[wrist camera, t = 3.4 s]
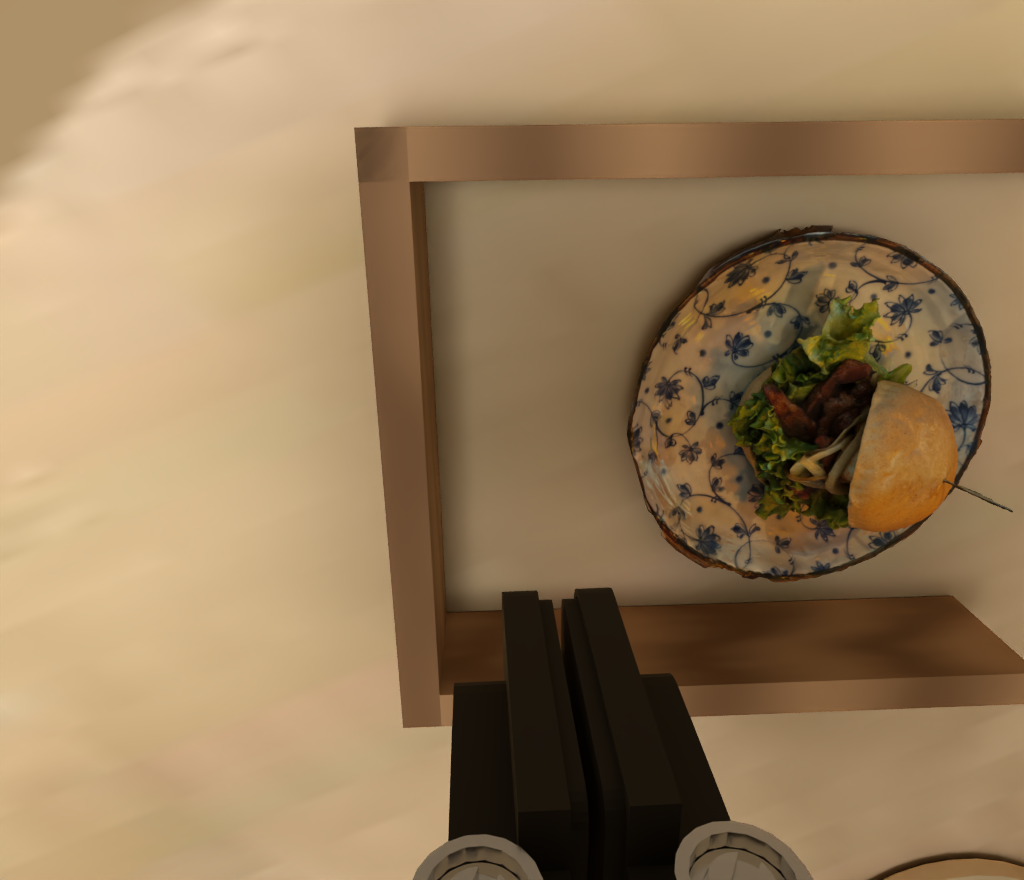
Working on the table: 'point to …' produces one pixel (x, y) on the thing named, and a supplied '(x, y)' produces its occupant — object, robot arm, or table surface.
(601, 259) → the table surface
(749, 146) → the wooden u-shaped wall
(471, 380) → the table surface
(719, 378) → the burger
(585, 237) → the table surface
